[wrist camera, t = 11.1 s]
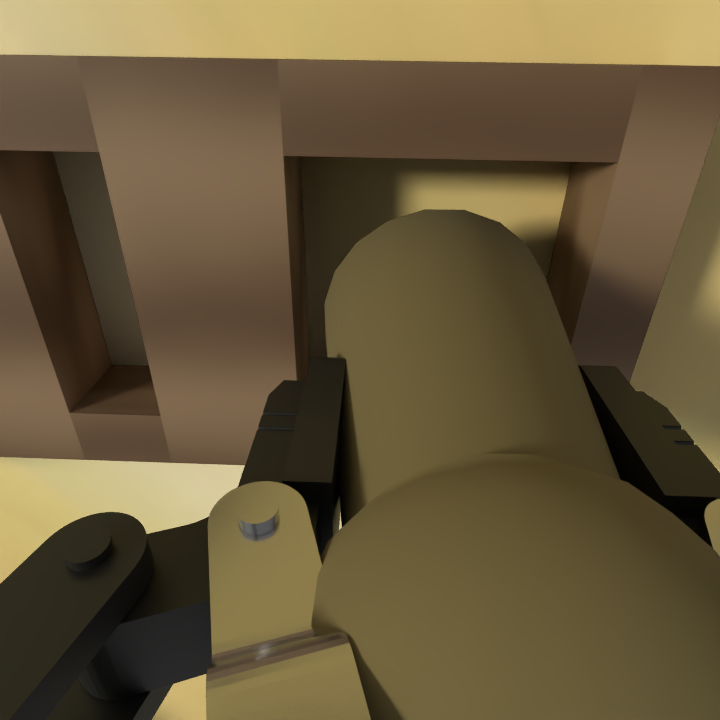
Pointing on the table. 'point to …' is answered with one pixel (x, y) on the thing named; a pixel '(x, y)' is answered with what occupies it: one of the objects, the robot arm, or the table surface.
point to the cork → (495, 503)
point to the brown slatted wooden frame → (295, 221)
